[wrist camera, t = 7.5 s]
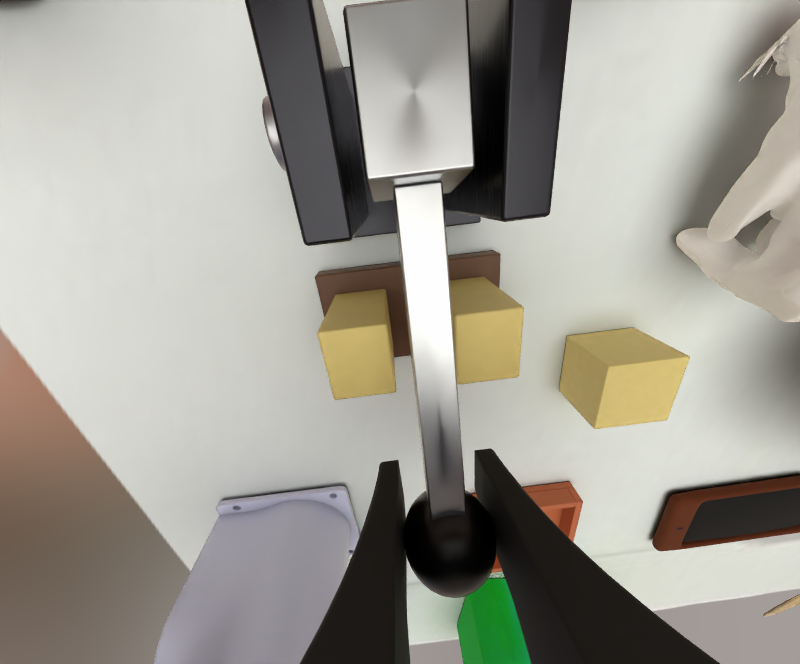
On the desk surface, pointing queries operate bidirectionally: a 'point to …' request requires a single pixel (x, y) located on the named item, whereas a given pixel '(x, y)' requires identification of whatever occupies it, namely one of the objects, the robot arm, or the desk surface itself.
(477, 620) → the green octagonal canister
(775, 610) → the tool
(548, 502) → the tray
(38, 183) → the desk surface
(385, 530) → the robot arm
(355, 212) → the cutter bracket
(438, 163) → the lever
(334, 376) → the butter
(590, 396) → the butter pat
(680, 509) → the smartphone
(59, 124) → the desk surface
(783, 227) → the white lumpy statuette
